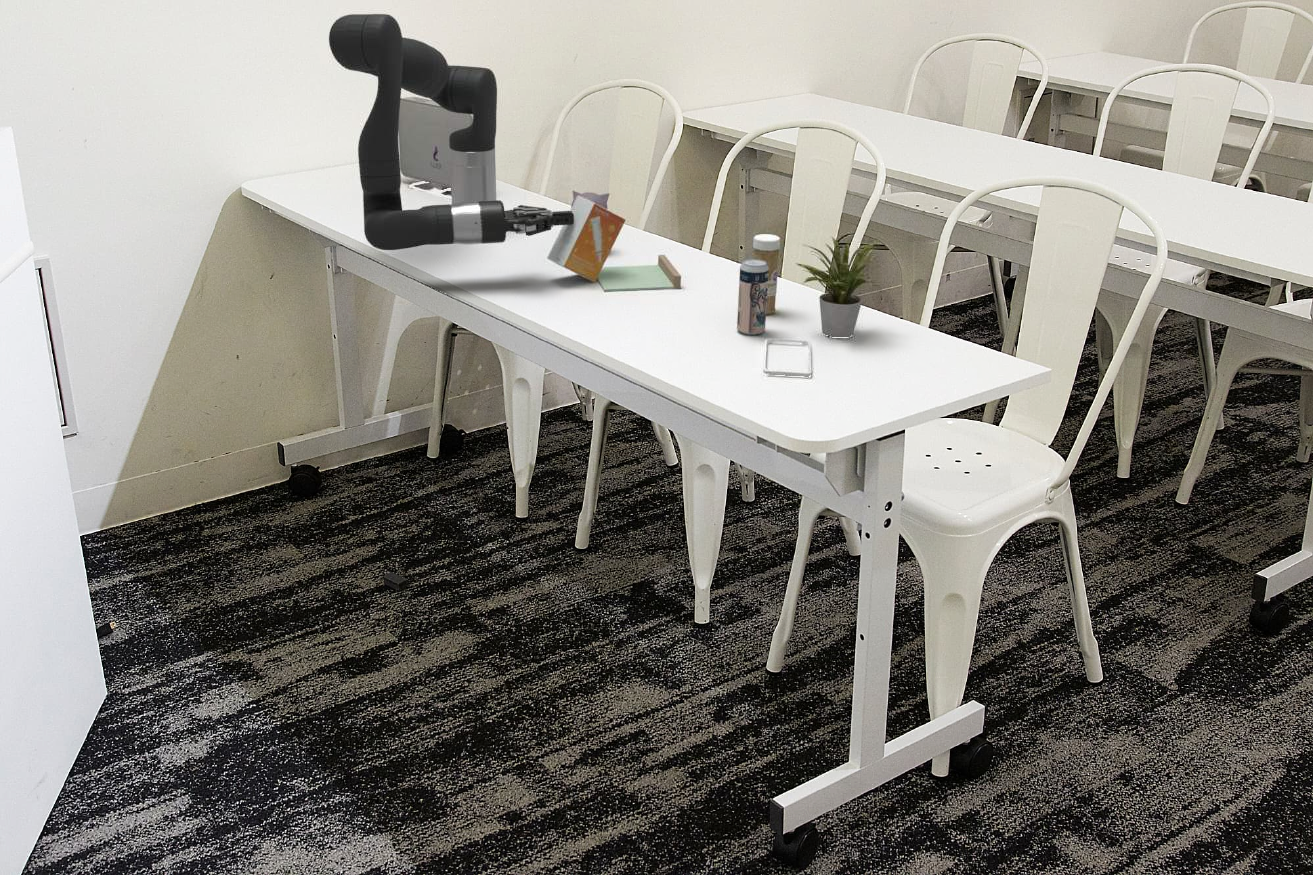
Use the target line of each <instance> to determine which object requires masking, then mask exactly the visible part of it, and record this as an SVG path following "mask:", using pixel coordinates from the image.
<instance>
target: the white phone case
mask: <svg viewBox="0 0 1313 875" xmlns="http://www.w3.org/2000/svg"><path fill="white" fill-rule="evenodd" d="M774 342H782V343H783V342H785V343H786V342H787V343H801V346H802V345H807V346H808V347H807V346H806V347H807V351H808V350H809V353H808V371H806V372H805V371H788V370H773V369H772V370H771V369H767V368H766V363H767V349H768V348H767V346H768V345H770V344H769V343H773V344H774ZM767 344H768V345H767ZM811 345H812V344H811V342H810V340H799V339H783V338H782V339H779V338H766V339H765V340H764V353H763V354H764V356H763V371H762V372H763V373H765V374H769V375H785V376H804V377H809V376H810V375H811V376H812V351H811V349H812V348H811ZM808 348H809V349H808Z"/></svg>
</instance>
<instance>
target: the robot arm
mask: <svg viewBox="0 0 1313 875" xmlns="http://www.w3.org/2000/svg"><path fill="white" fill-rule="evenodd" d="M328 44H329V48H330V51H331V53H332V54H331V55H333V57H334V59H335V60H336V62H337V63H339V65H340V66H341V67H343V68H344V69H346V70H349V71H354V72H359V73H364V74H368V75H372V76H375V77H376V78H377V92H376V96H375V100H374V103H373V105H372V108H371V110H370V113H369V115H368V117H367V119H366V121H365V123H364V125H363V127H362V130H361V133H360V135H359V139H358V146H357V153H358V157H357V158H358V167H359V168H358V169H359V178H360V179H359V180H360V185H361V189H362V199H363V200H362V201H363V204H362V205H363V207H362V208H363V226H364V227H363V230H364V231H363V232H364V236H365V240H366V241H367V242H368V243H369V245H371V246H372V247H374V248H375V249H378V250H382V251H396V250H397V251H399V250H405V249H411V248H417V247H420V246H427V245H428V246H430V245H431V246H432V245H433V246H435V245H436V246H438V245H441V246H442V245H453V244H454V245H456V244H457V245H478V244H480V245H481V244H482V245H483V244H499V243H505V241H506V240H507V239H506V238H507V234H506V233H507V232H509V233H511V232H512V233H515V234H517V235H519V234H520V235H523V234H525V236H529V237H530V236H534V235H537V234H540V233H541V234H542V233H543V232H548V231H550V230H552V228H553V227H554V226H563V225H572V224H573V223H574V214H573V213H572V211H570V210H560V211H559V210H558V211H552V210H550V209H547V208H546V207H539V206H530V205H529V206H528V205H523V204H522V205H521V204H519V205H517V207H513V209H508V210H507V209H506V210H505V205H504V203H503V201H502V200H497V175H496V174H497V173H496V171H497V170H496V135H497V108H498V106H497V104H498V85H497V79H496V76H495V73H494V72H493V70H491V69H490V68H487V67H479V66H467V65H466V66H465V65H451V64H450V65H449V64H448V61H447V59H446V58H445V56H444V55H443V53H441V52H440V51H439V50H438V49H437V48H435V47H433V46H431V45H430V44H428V43H425V42H423V41H420V40H417V39H416V38H415V39H413V38H409V37H403V34H402V30H401V27H400V24H399V22H398V20H396V18H395V17H393V16H392V15H391V14H388V13H363V14H361V13H359V14H358V13H355V14H353V13H351V14H346V15H342V16H340V17H339V18H337V19H336V20H335V22H333V24H332V25H331V27H330V30H329V33H328ZM402 89H403V90H404V91H407V92H409V93H411V94H414V95H417V96H420V97H421V98H424V99H429V100H433V101H434V102H436V103H437V104H439V105H440V106H441V107H443V108H444V109H446V110H448V111H450V112H455V113H463V114H473V123H472V125H471V126H469V127H467V128H464V129H461V130H458V131H455V132H453V133H451V134H450V137H449V147H450V171H451V191H450V195H451V197H452V199H451V203H450V204H449V203H448V204H432V205H425V206H422V207H420V208H418V209H417V208H416V209H404V210H403V204H402V196H401V185H402V181H401V180H402V176H401V175H402V173H401V169H400V152H399V133H398V126H399V111H400V99H401V98H402V97H401V95H402Z"/></svg>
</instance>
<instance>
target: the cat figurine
mask: <svg viewBox="0 0 1313 875" xmlns="http://www.w3.org/2000/svg"><path fill="white" fill-rule="evenodd" d="M577 196H581V197H583V198H585V199H588V200H590V201H592V202H594V203H596V204H597V205H599V206H601V207H603V208H605V209H607V210H608V204H607V202H608V201H609V197H610V192H609V193H604V194H603V193H602V194H597V193H595V192H589V191H588V192H583V193H580V192H578V191H575V190H572V199H573V200H572V203H571V208H572V206H573V204H574V202H575V200H576V198H577ZM571 208H570V209H571Z"/></svg>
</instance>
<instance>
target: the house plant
mask: <svg viewBox="0 0 1313 875" xmlns="http://www.w3.org/2000/svg"><path fill="white" fill-rule="evenodd" d="M831 238H832V239H831V240H832V242H833V243H832V244H833V248H834V249H833V248H831V247H830V245H828V244H827V243H825V245H826V247H827V248H828V249H829V251H830V253H831V255H832V257H833V260H834V261H835V264H834V263H833V262H832V261H831V260H830V258H829V257H828V256H827V255H826V254H825V253H824V252H822V251H821V250H820V249H818V248H816V247H812V246H810V245H807V244H800V245H802V246H804V247H808V248H811V249H813V251H812V250H811V252H812V253H815V254H817V255H818V256H817V258H818V259H819V260H820V261H821V262H822V263H823V264H824V266H825V267H826V268H827V270H825V271H823V270H821V269H819V268H816V267H814V266H811V265H807V264H802V263H795V264H796V265H797V266H799V267H802V268H804V269H806V270H804V269H802V271H804V272H807V273H809V274H811V275H813V276H810V277H809V276H808V277H807V278H805V279H804V281H803V282H802V284H805V283H808V282H812V281H813V282H814V281H818V282H819V284H821V285H822V286H823V287H824V288H825V289H826V291H827V292H824V293H822V294H821V295H820V296H819V297H818V298H819V299H818V300H819V309H820V318H821V319H820V321H821V331H822V332H821V334H822V333H823V334H825V335H828V336H831V337H850V336H851V335H854V333H855V328H856V325H857V321H858V318H859V315H860V311H861V306H862V304H863V303H862V302H863V298H861V296H859V295H858V294H854V291H856V289H857V288H859V287H860V286H861V285H864V284H867V283H869V281H867V279H862V277H864V276H866V275H867V276H869V274H868V273H864V272H862V271H863V270H864V269H865V268H866V266H867V265H869V264H870V263H872V261H871V260H872V259H873V258H874V257H875V256H876V254H874V255H873V256H872V257H871V258H870V259H869V260H868V261H867V262H866V263H864V262H865V261H866V260H867V258H868V257H869V255H870V254H871V253H872V251H873V249H872V247H873V246H874V245H876V244H879V242H880V241H874V242H872V243H869V244H864V245H861V246H859V247H858V248H856V250H855V251H854V253H853V254H852V257H851V258H850V257H849V256H850V243H849V241H848V242H847V243H846V247H845V246H842V249H843V250H842V252H843V254H842V255H843V256H842V257H841V249H840V245H839V243H838V241H837V240H836V239H835V237H833V236H831ZM863 247H864V248H863ZM862 248H863V249H862ZM861 249H862V250H861ZM815 251H816V252H815ZM859 251H860V252H859ZM857 254H858V255H857ZM811 255H813V256H814V254H811ZM821 255H822V257H819V256H821ZM856 255H857V257H856ZM855 257H856V259H855ZM841 258H842V259H841ZM849 259H850V260H849ZM854 259H855V260H854ZM826 262H827V263H828V264H827V263H826ZM853 262H854V264H853V266H852V263H853ZM863 263H864V264H863ZM835 265H836V266H835ZM851 266H852V268H851ZM850 268H851V270H850ZM870 283H872V284H875V285H878V282H876V281H870ZM827 287H828V288H827ZM823 334H822V335H823ZM850 338H851V337H850Z"/></svg>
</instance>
